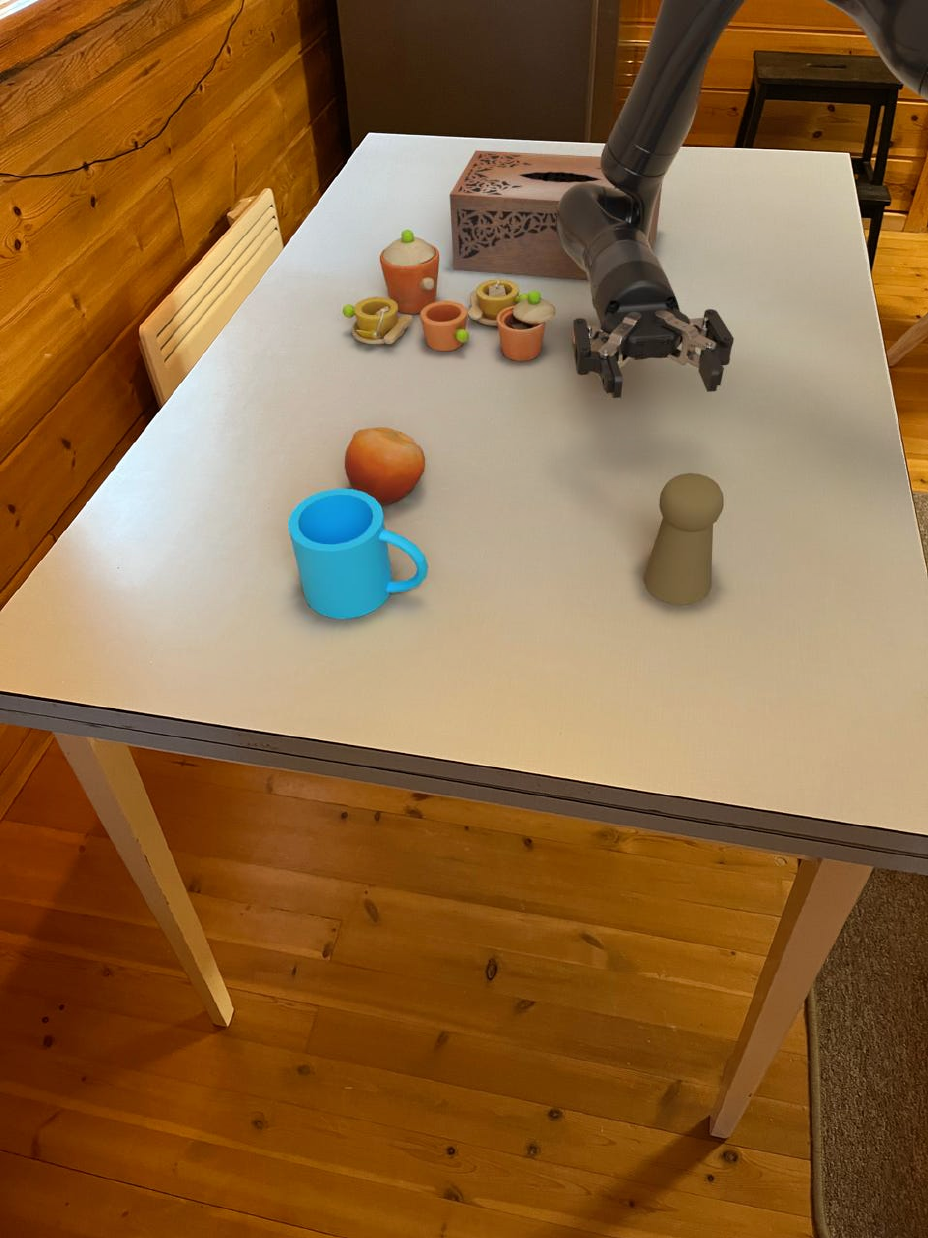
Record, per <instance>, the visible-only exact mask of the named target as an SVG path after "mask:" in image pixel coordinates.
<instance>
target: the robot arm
mask: <svg viewBox="0 0 928 1238" xmlns="http://www.w3.org/2000/svg"><path fill="white" fill-rule="evenodd" d="M746 1H747V0H662V1H661V4H660V8H659V11H658V14H657V16H656V17H657V18H656V21H655V24H654V27H653V30H652V33H651V36H650V38H649V43H648V46H647V47H646V51H645V54H644V57H643V59H642V61H641V65H640V66H639V70H638V72H637V75H636V76H635V80H634V82H633V83H632V86H631V88H630V91H629V93H628V95H627V97H626V99H625V101H624V104H623V106H622V108H621V110H620V112H619V115H618V116H617V119H616V121H615V123H614V125H613V127H612V129H611V131H610V134H609V135H608V138H607V140H606V142H605V144H604V147H603V149H602V151H601V154H600V157H601V159H600V166H601V170H602V173H603V175H604V176H605V178H606V179H607V180H608V181H609V182H610V183H611V184H612V185H613V186H614V187H616V188H617V189H619V190H616V189H612V188H608V187H605V186H601V185H597V184H593V183H579V184H576V185H574V186H572V187H571V188H570V189H568V190H567V191H566V192H565V194H564V195H563V196H562V198H561V200H560V202H559V205H558V208H557V212H556V231H557V236H558V239H559V241H560V244H561V245H562V247H563V249H564V250H565V251H566V253H567V254H568V255H569V256H570V257H571V258H572V259H573V260H574V261H575V262H576V264H577V265H578V266H579V267H580V268H581V269H583V270H584V271H585V272H586V273H587V277H588V280H587V281H588V283H589V290H590V296H591V303H592V306H593V307H592V308H594V310H595V312H596V316H597V318H598V321H599V322H598V323H599V324H600V325H597V324H596V325H588V323H587V319H585V318H580V317H577V318H575V319H573V323H572V324H573V325H572V340H571V341H572V342H571V343H572V344H571V346H572V352H573V357H574V363H575V371H576V374H578V375H579V376H587V375H589V374H590V373H595V374H596V375H597V377H599V379H600V383H601V385H602V390H603V392H605V393H606V394H610V395H611V398H612V399H621V398H622V393H623V384H624V383H623V382H624V381H623V379H624V377H623V373H622V371H621V369H622V368H623V367H624V366H625V365H626V363H628V362H629V361H630V359H634V361H640V360H646V359H649V358H653V359H666V358H667V359H669V360H671V361H673V362H675V363H677V364H679V365H681V366H685V365H687V364H689V365H691V366H693V367H695V368H697V369H698V374H699V376H700V378H701V381H702V383H703V386H704V387H705V390H706V392H708V393H709V392H710V393H711V392H716V391H717V390H718V386H721V385H722V381H723V380H722V379H723V376H724V375H723V374H724V371H725V368H724V366H728V365H729V364H730V362H731V353H732V348H733V345H734V340H735V338H734V336H733V335H732V333H731V331H730V330H729V328H728V326H727V325H726V324H725V322H724V320H723V319H722V317H721V316H720V314H719V312H718V311H717V310H716V309H713V308H708V309H706V310H704V312H703V317H695V318H690V317H688V316H687V315H686V314H685V313H683V312H682V311H681V309H680V307H679V302H678V300H677V296H676V293H675V292H674V290H673V287H672V286H671V285H672V284H671V283H670V281H669V279H668V277H667V274H666V272H665V269H664V268H663V265H662V264H661V262H660V260H659V258H657V256H656V255H655V253H654V251H653V252H652V250H651V247H650V245H649V243H648V240H647V239H648V236H649V232H650V228H651V222H652V217H653V212H654V207H655V203H656V200H657V196H658V193H659V190H660V187H661V184H662V185H663V181H664V179H665V176H666V175H667V173H668V171H669V169H670V167H671V166H672V164H673V162H674V160H675V159H676V156H677V155H678V153H679V151H680V149H681V147H682V146H683V144H684V142H685V140H686V138H687V137H688V135H689V132H690V130H691V128H692V125H693V123H694V120H695V117H696V114H697V111H698V108H699V103H700V100H701V99H700V97H701V93H702V87H703V81H704V77H705V72H706V69H707V66H708V63H709V61H710V58H711V56H712V54H713V51H714V49H715V47H716V45H717V43H718V41H719V40H720V38H721V36H722V35H723V33H724V31H725V30H726V28H727V27H728V26H729V24H730V23H731V21H732V20H733V18H734V17H735V15H736V14H737V13H738V11H739V10H740V8H741V7H742V6H743V5H744V3H745V2H746ZM823 1H824V2H826V3H828V4H830V5H831V6H833V7H835V8H837V9H838V10H840V11H841V12H842V13H844V14H845V15H846V16H848V17H849V18H850V19H851V20H852V21H853V22H854V23H855V24H856V25H857V26H858V27H859V29H860V30H861V31H862V33H863V34H864V36H865V37H866V38H867V40H868V41H869V43H870V44H871V47H873V49H874V51H875V52H876V54H877V56H879V58H880V60H881V61H882V62H883V64H884V65H885V67H887V69H888V70H889V72H891V73H892V75H893V76H894V77H895V78H896V79H897V80H898V81H899V82H900V83H901V84H902V85H904V86H905V87H906V88H907V89H909V91H911V92H913V93H914V94H915V95H917V96H919V97H921V98H922V99H924V100H926V101H927V102H928V0H823ZM620 190H621V191H620ZM597 340H598V341H599V340H600V342H601V343H602V344H603V345H602V346H601V347H600V348H599V350H598V351H596V350H592V346H594V345H595V343H596V341H597ZM680 346H681V348H680V349H679V347H680ZM696 348H698V349H699V350H700V354H698V353H697V352H696Z"/></svg>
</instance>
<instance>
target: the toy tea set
mask: <svg viewBox="0 0 928 1238" xmlns="http://www.w3.org/2000/svg"><path fill="white" fill-rule="evenodd" d="M436 247H437V246H435V245H433V244H431V243H429V242H427V241H426V240H425V239H422V238H420V237H417V236H414V233H413V231H412V230H410V229H405V230H402V233H401V237H399V238H397V239H395V240H394V241H392V242H391V243H390V244H389V245H387V246H386V247H385V248H383V250H382V251H381V252H380V255H379V263H380V267H381V271H382V275H383V277H384V278H383V279H384V283H385V287H386V291H387V294H388V297H384V296H372V297H367V298H364V299H361V300H360V301H358V302H357V303H356V304H355V305H352V304H346V305H344V306H343V308H342V314H343V316H344V317H346V318H347V319H348V318H349V319H350V318H353V317H355V319H356V320H355V322H353V324H352V326H351V334H352V337H353V338H355V339H356V340H357V341H358V342H360V343H364V344H367V345H383V344H386V345H392V344H393V343H395V342H396V340H398V339H400V338H401V337H402V336H403V335H404V333H405V331H406V328H408V327H410V326H411V325H412V324H413V316H412V315H414V314H415V315H416V314H419V317H420V322H421V325H422V330H423V333H424V337H425V342H426V344H427V346H428V347H429V348H430V349H432V350H434V351H439V352H451V351H454V350H457V349H458V348H460V347H461V346H462V345H463V344H464V343H466V342H467V341H469V338H470V333H469V332H468V330H467V329H466V328H467V321H468V318H469V319H471V320H473V321H476V322H478V323H480V324H482V325H486V326H493V327H494V326H495V327H497V330H498V336H499V340H500V341H499V342H500V346H501V351H502V354H503V355H504V356H505V357H506V358H508V359H510V360H512V361H516V362H517V361H518V362H523V361H524V362H525V361H530V360H533V359H534V358H535V359H536V357H537V356H538V355H540V353H541V351H542V346H543V340H544V334H545V329H546V323H547V322H548V321H550V320H552V319H553V318H554V317H555V316H556V314H557V313H556V312H557V309H556V306H555V304H553V303H552V302H550V301H549V300H547V299H545V298H543V297H542V295H541V293H540V292H539V291H538V290H535V289H534V290H531V291H529V293H528V294H527V293H522V294H520V287H519V285H518V284H517V283H516V282H514V281H512V280H509V279H504V278H503V279H501V278H499V277H497V278H495V279H488V280H485V281H483V282H481V283H480V284H478V286H476V289H475V290H473V291H471V292H470V296H469V297H470V298H469V299H470V306H471V307H470V308H469V309H467V307H466V306H465V305H463V304H462V303H460V302H457V301H453V300H440V301H437V289H438V279H439V278H438V277H439V266H440V252H439V250H438V248H436ZM398 313H402V314H401V315H400V316H399V314H398Z"/></svg>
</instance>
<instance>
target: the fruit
mask: <svg viewBox="0 0 928 1238" xmlns="http://www.w3.org/2000/svg"><path fill="white" fill-rule="evenodd" d="M425 469H426V457H425V454H424V449H423V448H422V447H421V446H420V445H419V444H417V442H416V441H415V440H414V438H413V437H411V436H410V435H407V434H406V433H403V432H402V431H398V430H395V429H393V428H389V427H381V426H379V427H378V426H377V427H371V428H365V429H359V430H357V431H356V432H354V433H353V435H352V438H351V439H350V442H349V444H348V446H347V448H346V451H345V454H344V471H345V474H346V477H347V480H348V483H349V485H350V487H351V489H353V490H357V491H361V492H365V493H366V494H368V495H370V496H372V497H373V498H375V499H376V501H377V502H378V503H379V504H380V505H381V506H382V505H388V504H392V503H393V504H394V503H397V502H399V501H401V500H402V499H404V498H405V497H406V496H407V495H409V494H410V493H411V492H412V491H413V490H414V488H415V487H416V486H417V484H418V483H419V481H420V480H421V478H422V475H423V474H424V472H425Z"/></svg>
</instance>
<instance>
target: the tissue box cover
mask: <svg viewBox="0 0 928 1238" xmlns="http://www.w3.org/2000/svg"><path fill="white" fill-rule="evenodd" d="M600 159H601V156H592V155H591V156H590V155H573V154H571V155H570V154H555V153H553V154H552V153H550V154H549V153H534V152H533V153H532V152H516V151H515V152H513V151H493V150H492V151H491V150H474V152H473V154H472V155H471V157H470V159H469V161H468V163H467V164H466V166H465V168H464V170H463V171H462V173H461V174H460V176H459V178H458V180H457V182H456V183H455V185H454V186H453V188H452V190H451V192H450V193H449V207H450V210H449V211H450V226H451V227H450V228H451V245H452V264H453V265H452V266H453V270H458V271H471V272H484V273H497V274H509V275H510V274H511V275H522V276H535V277H536V276H537V277H549V278H563V279H577V280H587V281H589V280H588V277H587V273H586V272H585V271H584V270H583V269H581V268H580V267H579V266H578V265H577V264H576V262H575V261H574V260H573V259H572V258H571V257H570V256H569V255H568V254H567V253H566V251H565V250H564V249H563V247H562V245H561V244H560V241H559V239H558V236H557V231H556V212H557V208H558V205H559V202H560V200H561V198H562V196H563V195H564V194H565V192H566V191H567V190H568V189H570V188H571V187H572V186H574V185H576V184H579V183H593V184H597V185H601V186H605V187H608V188H612V189H616V190H619V189H617V188H616V187H614V186H613V185H612V184H611V183H610V182H609V181H608V180H607V179H606V178H605V176H604V175H603V173H602V170H601V166H600ZM662 188H663V183H662V184H661V187H660V190H659V193H658V196H657V200H656V203H655V207H654V212H653V217H652V222H651V228H650V232H649V236H648V239H647V240H648V243H649V245H650V247H651V250H652V252H653V253H654V246H655V244H656V238H657V234H658V225H659V216H660V209H661V208H660V206H661V198H662ZM620 191H621V190H620Z"/></svg>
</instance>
